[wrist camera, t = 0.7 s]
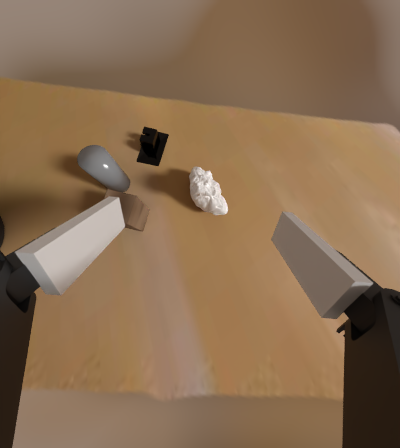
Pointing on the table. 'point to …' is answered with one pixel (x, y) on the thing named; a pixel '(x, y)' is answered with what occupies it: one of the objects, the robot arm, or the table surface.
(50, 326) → the table surface
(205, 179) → the bust
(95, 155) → the grey rounded cylinder
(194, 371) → the table surface
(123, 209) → the walnut block
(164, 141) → the notched block on base
